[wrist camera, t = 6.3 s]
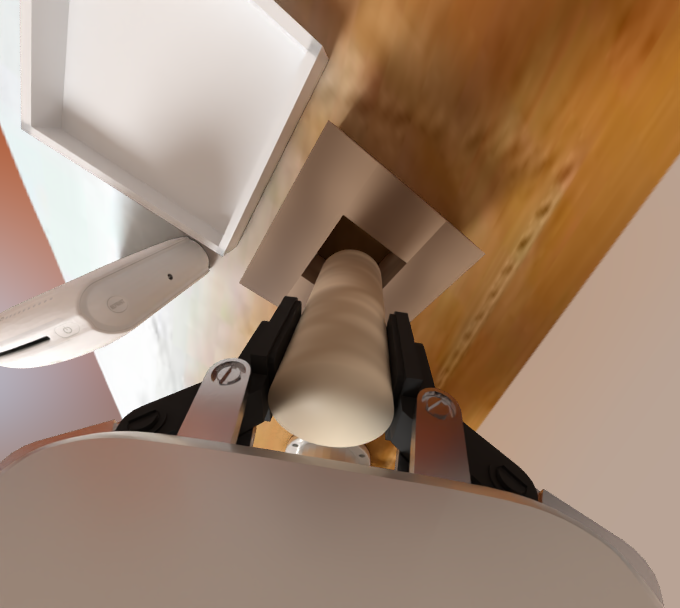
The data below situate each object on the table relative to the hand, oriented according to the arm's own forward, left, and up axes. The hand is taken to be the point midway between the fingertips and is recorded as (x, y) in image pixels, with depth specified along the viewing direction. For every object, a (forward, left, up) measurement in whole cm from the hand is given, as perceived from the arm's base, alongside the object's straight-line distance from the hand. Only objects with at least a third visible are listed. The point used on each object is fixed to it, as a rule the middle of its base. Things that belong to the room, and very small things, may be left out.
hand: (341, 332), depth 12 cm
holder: (0, 0, -12) cm, 12 cm away
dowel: (0, 0, -6) cm, 6 cm away
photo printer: (+14, +13, -12) cm, 22 cm away
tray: (+16, -1, -12) cm, 20 cm away
